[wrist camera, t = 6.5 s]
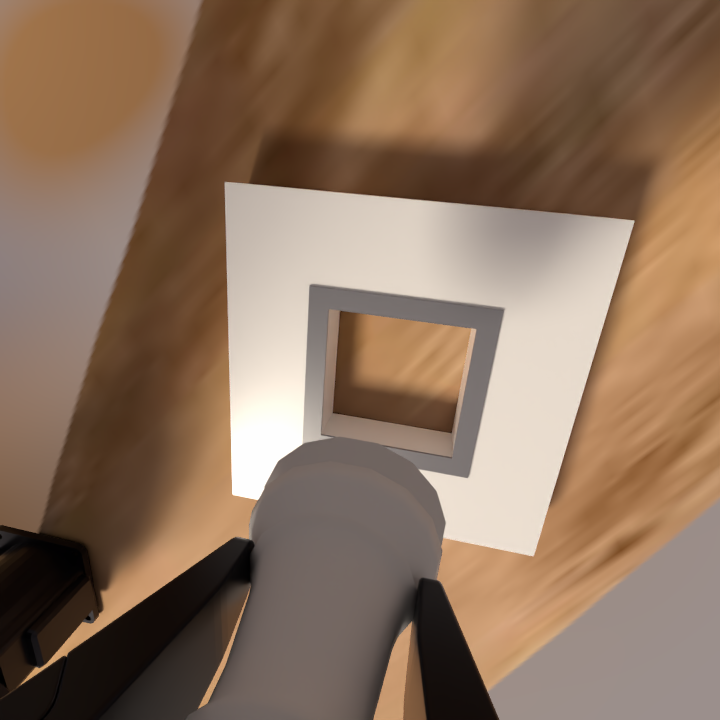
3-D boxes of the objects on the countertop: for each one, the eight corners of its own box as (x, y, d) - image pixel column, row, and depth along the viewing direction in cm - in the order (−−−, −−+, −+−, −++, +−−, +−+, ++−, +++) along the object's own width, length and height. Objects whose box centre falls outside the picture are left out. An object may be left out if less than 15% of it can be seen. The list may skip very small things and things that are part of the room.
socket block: (250, 470, 23) (231, 495, 21) (247, 183, 18) (223, 181, 16) (526, 524, 21) (534, 558, 19) (613, 217, 16) (636, 220, 14)
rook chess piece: (367, 600, 12) (237, 1251, 5) (238, 500, 12) (-128, 1035, 4) (486, 510, 10) (584, 1312, 3) (340, 389, 10) (20, 957, 2)
